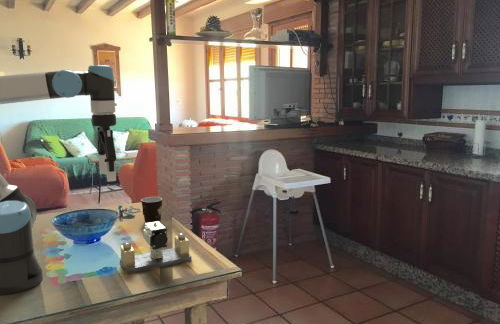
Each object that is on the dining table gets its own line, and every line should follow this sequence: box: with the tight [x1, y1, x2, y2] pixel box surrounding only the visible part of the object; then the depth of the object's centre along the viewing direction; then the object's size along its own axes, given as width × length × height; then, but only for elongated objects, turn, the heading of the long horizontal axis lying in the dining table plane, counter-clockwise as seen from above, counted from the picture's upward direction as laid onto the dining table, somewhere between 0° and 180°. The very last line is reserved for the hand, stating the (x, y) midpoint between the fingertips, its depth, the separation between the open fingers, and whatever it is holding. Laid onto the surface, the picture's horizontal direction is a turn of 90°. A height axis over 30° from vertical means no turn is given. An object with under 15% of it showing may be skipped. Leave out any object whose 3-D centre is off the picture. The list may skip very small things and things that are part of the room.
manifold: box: [119, 232, 193, 275], centre depth 141 cm, size 21×10×8 cm, turn 118°
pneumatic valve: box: [142, 221, 168, 260], centre depth 140 cm, size 6×12×12 cm, turn 28°
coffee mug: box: [140, 196, 163, 224], centre depth 179 cm, size 12×9×10 cm
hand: (107, 177), depth 145 cm, fingers open, 13 cm apart
